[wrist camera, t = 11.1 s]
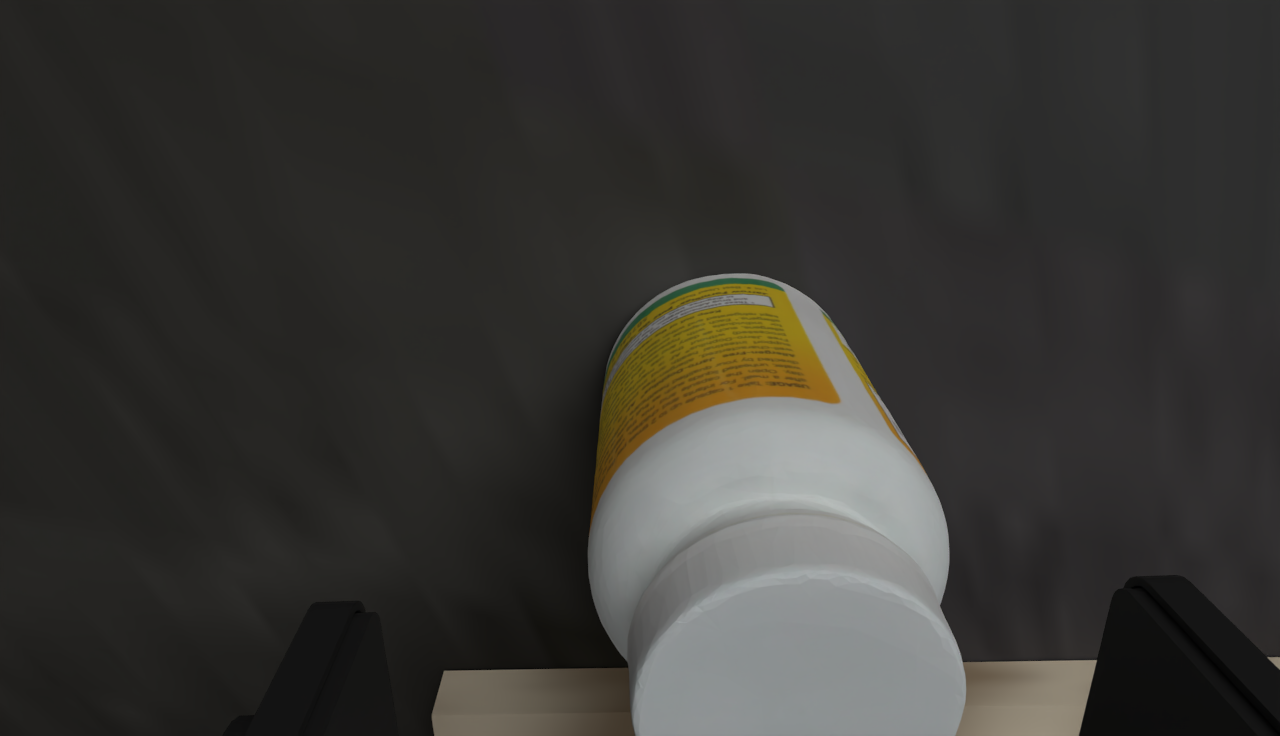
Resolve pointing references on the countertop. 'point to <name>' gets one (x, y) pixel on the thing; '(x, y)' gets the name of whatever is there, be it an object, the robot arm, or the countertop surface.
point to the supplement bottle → (765, 528)
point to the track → (601, 717)
